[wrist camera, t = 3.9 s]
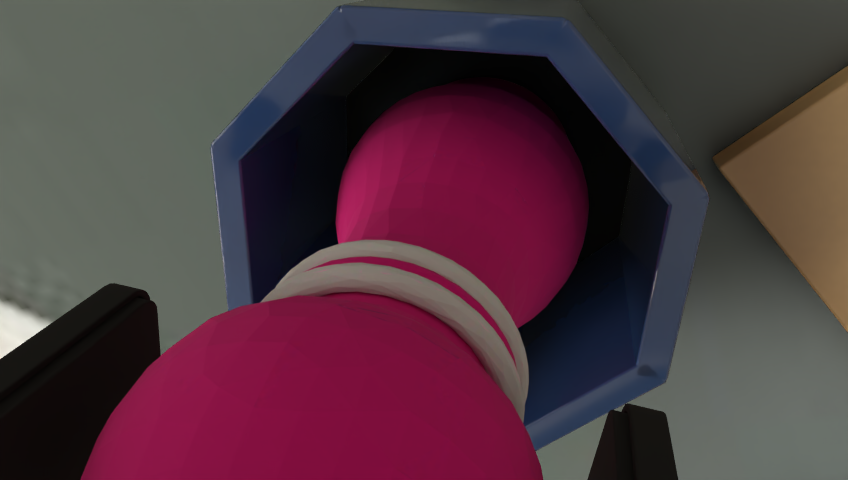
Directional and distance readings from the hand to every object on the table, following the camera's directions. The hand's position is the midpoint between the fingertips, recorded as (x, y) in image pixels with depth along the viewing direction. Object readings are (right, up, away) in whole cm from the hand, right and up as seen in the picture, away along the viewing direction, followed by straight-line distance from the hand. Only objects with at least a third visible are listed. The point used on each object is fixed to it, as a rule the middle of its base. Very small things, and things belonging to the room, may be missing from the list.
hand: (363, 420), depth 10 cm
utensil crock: (+3, +6, +12) cm, 14 cm away
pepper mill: (+3, +6, +12) cm, 14 cm away
